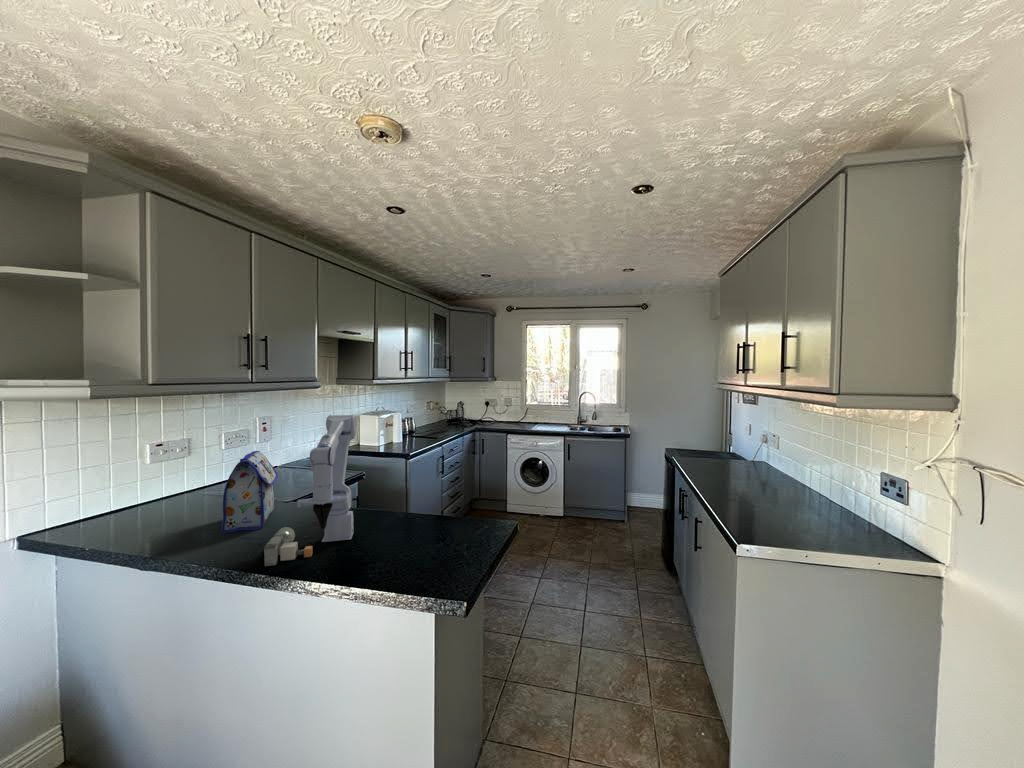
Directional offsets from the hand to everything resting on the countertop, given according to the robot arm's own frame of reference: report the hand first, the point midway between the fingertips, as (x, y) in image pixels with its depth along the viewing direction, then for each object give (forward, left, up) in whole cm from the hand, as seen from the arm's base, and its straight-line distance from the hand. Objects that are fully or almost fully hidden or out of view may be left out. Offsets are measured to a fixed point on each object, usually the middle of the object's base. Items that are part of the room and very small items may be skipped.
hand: (323, 527), depth 134 cm
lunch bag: (+34, -41, -9) cm, 54 cm away
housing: (+14, -4, -8) cm, 17 cm away
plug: (+8, 0, -8) cm, 11 cm away
